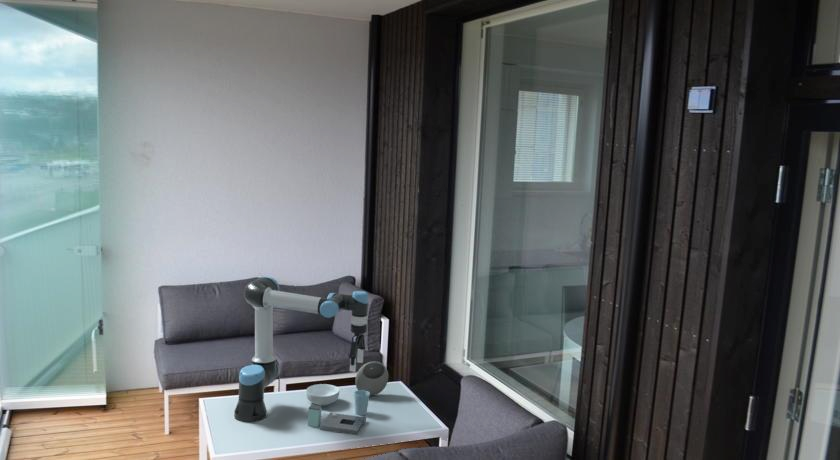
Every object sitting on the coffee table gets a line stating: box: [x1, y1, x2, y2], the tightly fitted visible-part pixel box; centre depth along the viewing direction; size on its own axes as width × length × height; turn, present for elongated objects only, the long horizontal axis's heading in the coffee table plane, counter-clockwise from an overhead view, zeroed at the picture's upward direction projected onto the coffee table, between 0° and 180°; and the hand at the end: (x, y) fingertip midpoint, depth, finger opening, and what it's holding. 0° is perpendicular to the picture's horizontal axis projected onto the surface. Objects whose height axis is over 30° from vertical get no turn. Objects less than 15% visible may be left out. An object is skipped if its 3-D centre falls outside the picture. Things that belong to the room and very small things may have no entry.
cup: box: [353, 390, 370, 416], centre depth 347 cm, size 8×8×10 cm
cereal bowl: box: [305, 383, 340, 407], centre depth 357 cm, size 17×17×7 cm
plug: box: [307, 404, 323, 428], centre depth 330 cm, size 5×4×9 cm
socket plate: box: [319, 412, 367, 436], centre depth 332 cm, size 18×16×3 cm
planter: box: [354, 361, 389, 397], centre depth 370 cm, size 18×7×19 cm, turn 115°
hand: (356, 366), depth 336 cm, fingers open, 13 cm apart
